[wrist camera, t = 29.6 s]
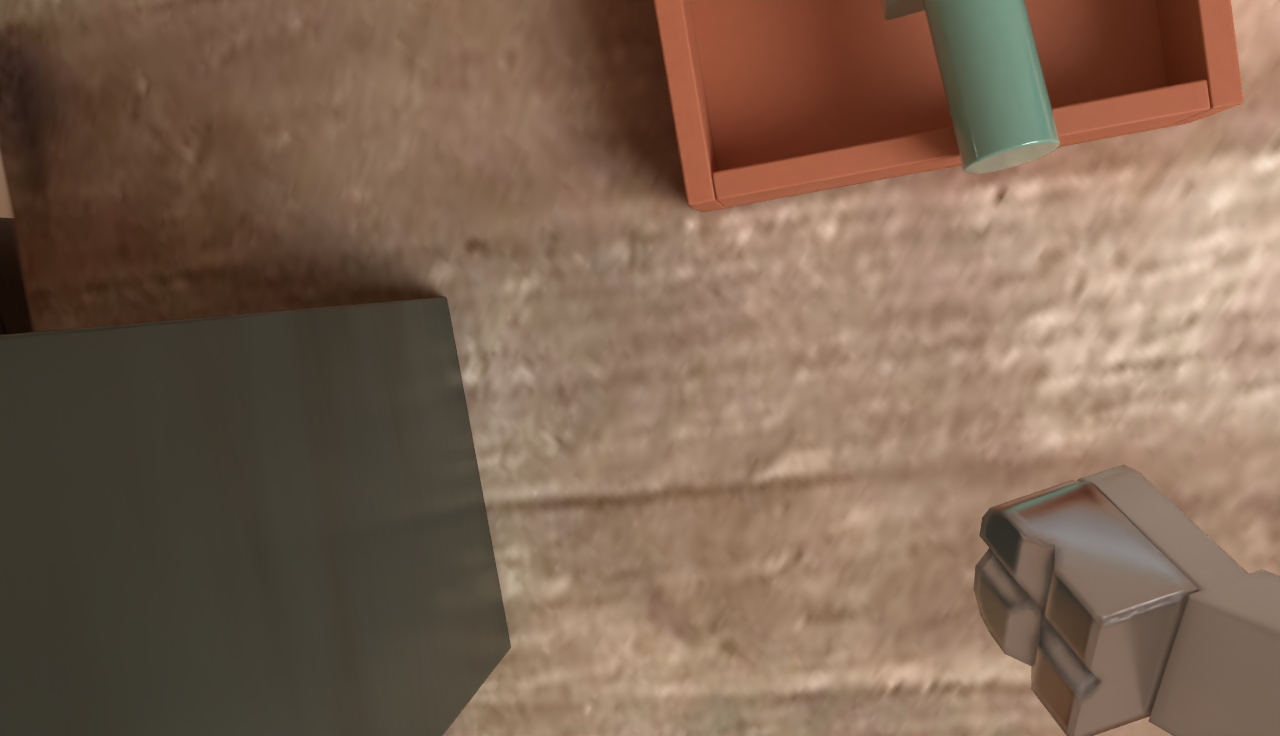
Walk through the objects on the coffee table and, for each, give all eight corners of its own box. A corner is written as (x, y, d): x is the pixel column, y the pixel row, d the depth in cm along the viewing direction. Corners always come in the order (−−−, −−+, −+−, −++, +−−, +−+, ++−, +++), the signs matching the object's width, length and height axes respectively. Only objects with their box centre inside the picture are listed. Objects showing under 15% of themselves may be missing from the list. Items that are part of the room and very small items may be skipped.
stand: (294, 673, 37) (-600, 1384, 14) (226, 335, 36) (-849, 464, 13) (511, 647, 36) (-58, 1387, 12) (447, 296, 35) (-298, 359, 11)
